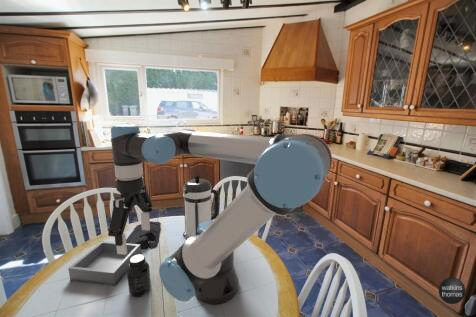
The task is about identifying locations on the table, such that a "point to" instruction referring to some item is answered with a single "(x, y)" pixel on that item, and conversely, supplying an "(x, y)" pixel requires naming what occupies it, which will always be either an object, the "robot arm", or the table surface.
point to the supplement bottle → (138, 276)
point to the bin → (103, 264)
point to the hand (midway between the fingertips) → (135, 240)
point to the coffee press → (198, 204)
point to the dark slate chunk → (145, 236)
